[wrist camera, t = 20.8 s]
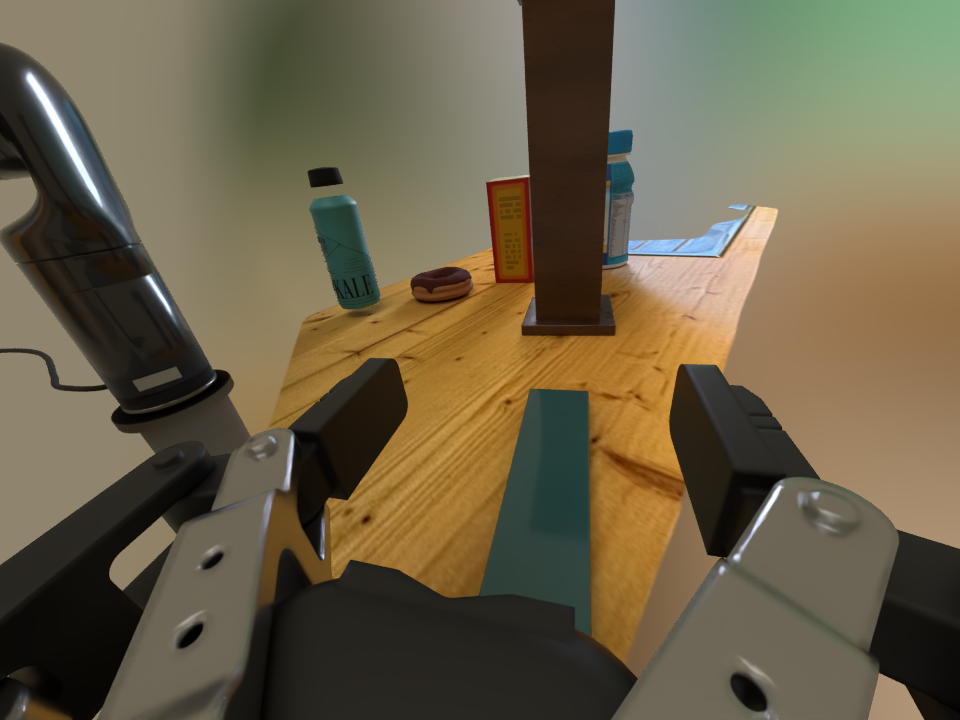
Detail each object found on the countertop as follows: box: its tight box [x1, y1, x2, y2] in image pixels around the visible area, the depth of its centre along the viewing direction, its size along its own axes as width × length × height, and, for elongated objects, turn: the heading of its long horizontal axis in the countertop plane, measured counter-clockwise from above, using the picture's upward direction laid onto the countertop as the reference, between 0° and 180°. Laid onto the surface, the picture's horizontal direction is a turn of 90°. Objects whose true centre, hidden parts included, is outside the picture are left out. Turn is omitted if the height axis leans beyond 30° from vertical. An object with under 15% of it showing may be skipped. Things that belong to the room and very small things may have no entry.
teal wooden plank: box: [479, 389, 591, 637], centre depth 17 cm, size 24×4×2 cm, turn 165°
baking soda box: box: [486, 175, 534, 283], centre depth 59 cm, size 10×6×16 cm
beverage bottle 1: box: [308, 167, 381, 309], centre depth 50 cm, size 6×7×20 cm
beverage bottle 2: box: [602, 130, 634, 269], centre depth 58 cm, size 8×8×20 cm
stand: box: [518, 0, 615, 335], centre depth 33 cm, size 16×10×32 cm, turn 165°
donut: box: [410, 267, 473, 301], centre depth 57 cm, size 10×10×4 cm
